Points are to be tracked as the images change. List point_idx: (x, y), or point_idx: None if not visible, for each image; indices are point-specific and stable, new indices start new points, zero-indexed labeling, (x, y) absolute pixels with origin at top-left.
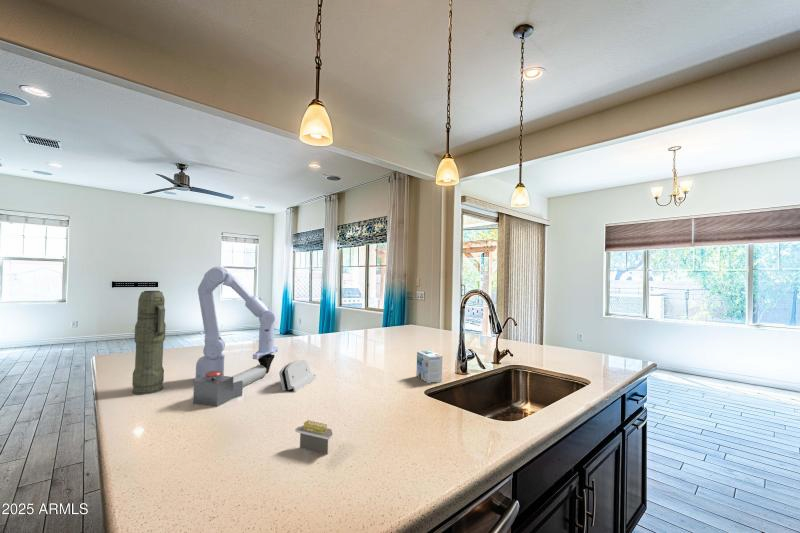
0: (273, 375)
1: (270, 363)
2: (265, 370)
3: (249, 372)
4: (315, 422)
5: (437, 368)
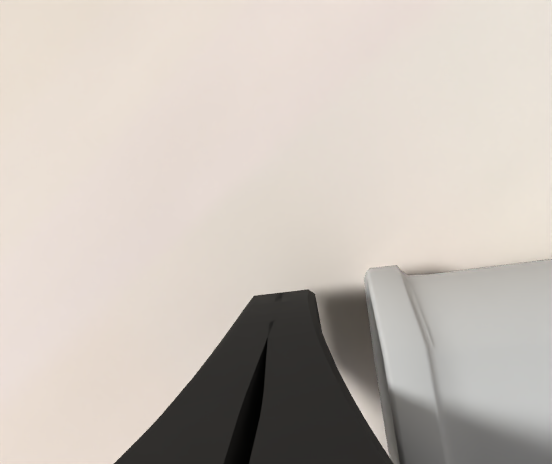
0: (161, 221)
1: (173, 447)
2: (416, 317)
3: None
4: None
5: None
